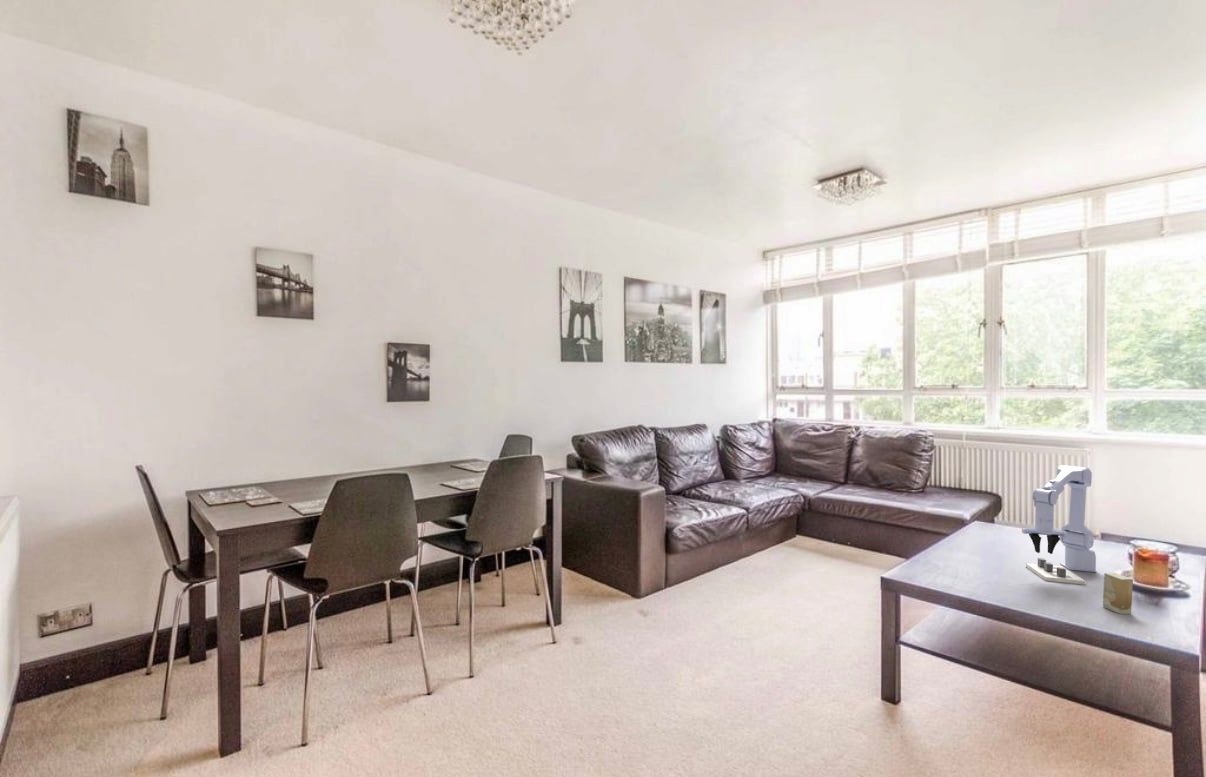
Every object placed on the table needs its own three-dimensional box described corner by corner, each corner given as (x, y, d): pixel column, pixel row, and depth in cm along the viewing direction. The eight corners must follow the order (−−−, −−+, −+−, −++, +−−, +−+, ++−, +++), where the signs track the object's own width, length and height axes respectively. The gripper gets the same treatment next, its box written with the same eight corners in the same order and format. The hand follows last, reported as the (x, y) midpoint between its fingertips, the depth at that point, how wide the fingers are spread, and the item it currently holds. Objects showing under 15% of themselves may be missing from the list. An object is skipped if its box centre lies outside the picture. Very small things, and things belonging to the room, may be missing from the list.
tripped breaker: (1062, 575, 215) (1062, 567, 215) (1065, 577, 213) (1066, 569, 213) (1056, 574, 216) (1056, 566, 216) (1059, 576, 213) (1059, 568, 213)
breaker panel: (1062, 570, 226) (1062, 559, 226) (1085, 584, 210) (1085, 572, 210) (1025, 566, 230) (1026, 555, 230) (1045, 580, 213) (1045, 568, 213)
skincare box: (1102, 606, 189) (1102, 572, 188) (1113, 606, 189) (1114, 572, 189) (1121, 614, 182) (1121, 579, 182) (1132, 614, 183) (1133, 578, 182)
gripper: (1027, 520, 214) (1027, 553, 214) (1071, 523, 210) (1070, 557, 210) (1019, 515, 221) (1019, 548, 221) (1062, 518, 217) (1061, 552, 217)
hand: (1043, 552), depth 216 cm, fingers open, 4 cm apart
